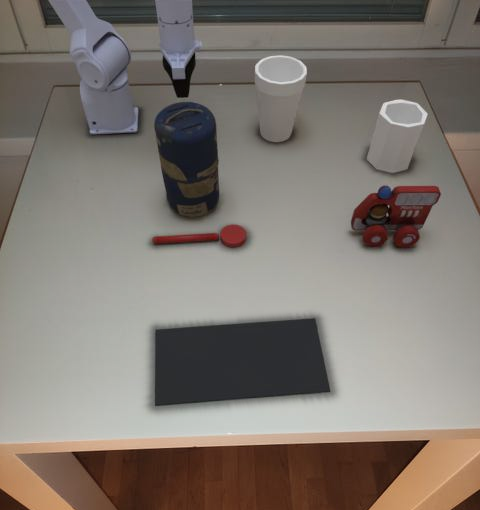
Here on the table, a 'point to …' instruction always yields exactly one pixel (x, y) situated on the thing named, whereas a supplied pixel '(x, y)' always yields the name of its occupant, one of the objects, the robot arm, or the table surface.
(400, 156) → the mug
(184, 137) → the canister
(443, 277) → the table surface
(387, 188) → the toy fire truck
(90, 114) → the robot arm
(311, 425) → the table surface
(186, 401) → the placemat
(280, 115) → the foam cup
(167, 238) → the spoon
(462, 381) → the table surface
